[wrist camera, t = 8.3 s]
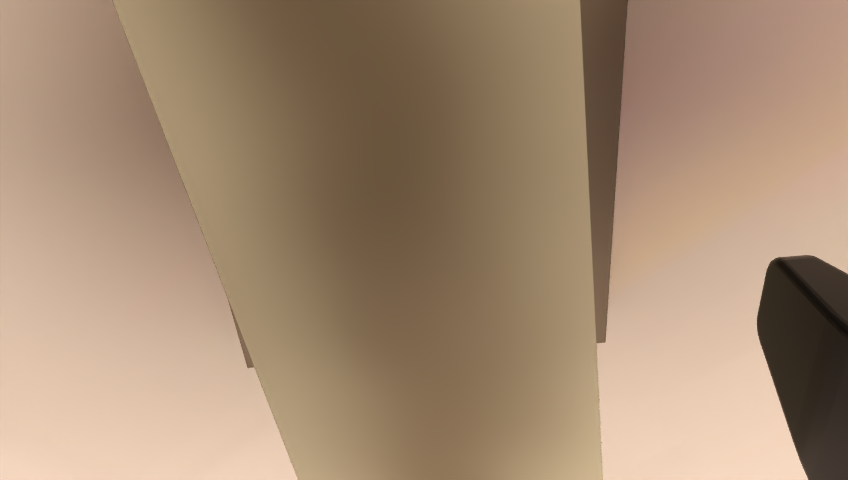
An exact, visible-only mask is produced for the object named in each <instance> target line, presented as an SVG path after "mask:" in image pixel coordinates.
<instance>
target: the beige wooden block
mask: <svg viewBox="0 0 848 480" xmlns="http://www.w3.org/2000/svg"><path fill="white" fill-rule="evenodd" d="M112 1H113V3H114V6H115V9H116V11H117V14H118V16H119V19H120V21H121V24H122V27H123V29H124V32H125V34H126V37H127V39H128V42H129V45H130V47H131V50H132V52H133V55H134V58H135V60H136V63H137V65H138V68H139V70H140V73H141V76H142V78H143V81H144V83H145V86H146V89H147V91H148V94H149V96H150V99H151V101H152V104H153V107H154V109H155V112H156V114H157V117H158V119H159V122H160V125H161V127H162V130H163V132H164V135H165V138H166V140H167V143H168V145H169V148H170V150H171V153H172V156H173V158H174V161H175V163H176V166H177V168H178V171H179V174H180V176H181V179H182V181H183V184H184V187H185V189H186V192H187V194H188V197H189V199H190V202H191V205H192V207H193V210H194V212H195V215H196V218H197V220H198V223H199V225H200V228H201V230H202V233H203V236H204V238H205V241H206V243H207V246H208V248H209V251H210V254H211V256H212V259H213V261H214V264H215V267H216V269H217V272H218V274H219V277H220V279H221V282H222V285H223V287H224V290H225V292H226V295H227V298H228V300H229V303H230V305H231V308H232V310H233V313H234V316H235V318H236V321H237V323H238V326H239V328H240V331H241V334H242V336H243V339H244V341H245V344H246V347H247V349H248V352H249V354H250V357H251V359H252V362H253V365H254V367H255V370H256V372H257V375H258V377H259V380H260V383H261V385H262V388H263V390H264V393H265V396H266V398H267V401H268V403H269V406H270V408H271V411H272V414H273V416H274V419H275V421H276V424H277V427H278V429H279V432H280V434H281V437H282V439H283V442H284V445H285V447H286V450H287V452H288V455H289V457H290V460H291V463H292V465H293V468H294V470H295V473H296V476H297V478H298V480H603V473H602V452H601V431H600V410H599V389H598V368H597V347H596V326H595V305H594V284H593V263H592V242H591V221H590V200H589V179H588V158H587V137H586V116H585V95H584V74H583V53H582V32H581V11H580V0H112Z"/></svg>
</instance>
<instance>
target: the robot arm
mask: <svg viewBox="0 0 848 480" xmlns="http://www.w3.org/2000/svg"><path fill="white" fill-rule="evenodd" d="M757 331H758V336H759V340H760V343H761V346H762V349H763V352H764V355H765V358H766V361H767V364H768V367H769V370H770V373H771V376H772V379H773V382H774V385H775V388H776V391H777V394H778V397H779V400H780V403H781V406H782V409H783V412H784V415H785V418H786V421H787V424H788V427H789V430H790V433H791V436H792V439H793V442H794V445H795V448H796V451H797V453H798V456H799V459H800V461H801V464H802V466H803V468H804V471H805V473H806V475H807V477H808V480H848V274H847V273H845V272H843V271H841V270H839V269H838V268H836V267H834V266H832V265H830V264H828V263H826V262H824V261H823V260H821V259H819V258H817V257H814V256H810V255H803V256H791V257H778V258H776V259H774V260H773V261H771V262H770V264H769V266H768V268H767V272H766V277H765V281H764V286H763V291H762V296H761V301H760V306H759V311H758V316H757Z"/></svg>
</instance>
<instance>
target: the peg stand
mask: <svg viewBox="0 0 848 480" xmlns="http://www.w3.org/2000/svg"><path fill="white" fill-rule="evenodd" d="M627 1H628V0H580V11H581V32H582V53H583V74H584V95H585V116H586V137H587V158H588V179H589V200H590V221H591V242H592V263H593V284H594V305H595V326H596V343H604V342H605V341H606V325H607V310H608V294H609V279H610V264H611V248H612V233H613V217H614V202H615V186H616V171H617V156H618V140H619V125H620V109H621V94H622V78H623V63H624V48H625V32H626V17H627ZM228 301H229V300H228ZM229 305H230V303H229ZM230 308H231V305H230ZM231 312H232V315H233V319H234V322H235V326H236V329H237V332H238V336H239V339H240V343H241V346H242V350H243V353H244V357H245V360H246V364H247V367H248V368H251V367H254V365H253V362H252V359H251V357H250V354H249V352H248V349H247V347H246V344H245V341H244V339H243V336H242V334H241V331H240V328H239V326H238V323H237V321H236V318H235V316H234V313H233V310H232V308H231Z"/></svg>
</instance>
